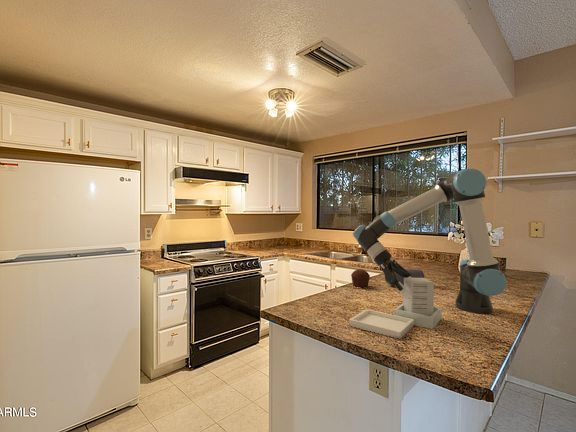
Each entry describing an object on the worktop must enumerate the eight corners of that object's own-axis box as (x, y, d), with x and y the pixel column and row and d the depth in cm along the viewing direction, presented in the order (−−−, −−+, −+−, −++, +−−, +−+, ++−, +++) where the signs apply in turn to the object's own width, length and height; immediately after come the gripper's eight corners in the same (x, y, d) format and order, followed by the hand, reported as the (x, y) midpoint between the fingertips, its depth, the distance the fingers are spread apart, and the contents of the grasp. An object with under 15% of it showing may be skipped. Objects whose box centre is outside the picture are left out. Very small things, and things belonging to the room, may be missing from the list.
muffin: (370, 289, 179) (370, 272, 179) (351, 288, 181) (351, 271, 181) (369, 284, 191) (369, 268, 190) (350, 283, 193) (351, 267, 193)
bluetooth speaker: (392, 288, 182) (393, 271, 181) (384, 284, 191) (384, 268, 190) (425, 286, 188) (425, 270, 188) (415, 282, 197) (415, 267, 196)
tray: (414, 325, 122) (414, 319, 122) (399, 339, 108) (400, 332, 108) (366, 314, 134) (366, 309, 134) (348, 325, 121) (348, 319, 121)
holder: (441, 318, 130) (441, 308, 130) (432, 329, 118) (432, 317, 118) (405, 311, 139) (405, 301, 139) (393, 320, 128) (394, 309, 128)
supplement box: (434, 323, 124) (434, 282, 124) (411, 323, 124) (411, 282, 124) (424, 315, 134) (424, 277, 133) (402, 315, 134) (403, 277, 133)
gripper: (384, 256, 150) (415, 292, 141) (362, 262, 131) (396, 304, 121) (395, 246, 147) (427, 282, 138) (374, 251, 127) (410, 293, 118)
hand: (413, 293), depth 129 cm, fingers open, 13 cm apart
